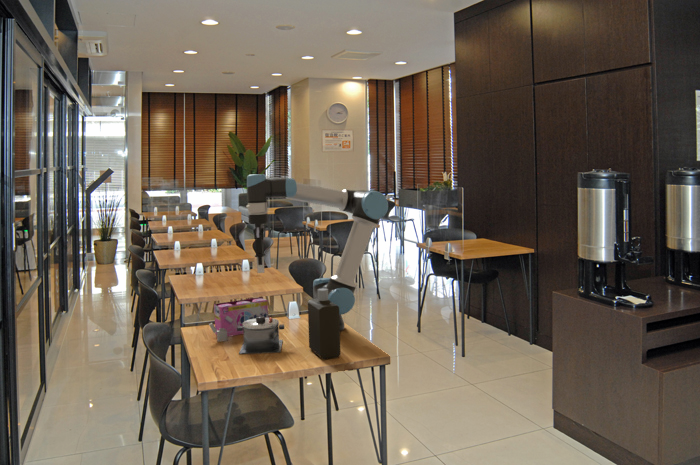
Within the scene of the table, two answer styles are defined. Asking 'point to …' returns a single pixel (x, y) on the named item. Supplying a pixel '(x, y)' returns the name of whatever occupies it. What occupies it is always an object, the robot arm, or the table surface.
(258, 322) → the lid
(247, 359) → the table surface
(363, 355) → the table surface
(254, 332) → the pot
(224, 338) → the lighter
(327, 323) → the bottle
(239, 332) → the gum box
